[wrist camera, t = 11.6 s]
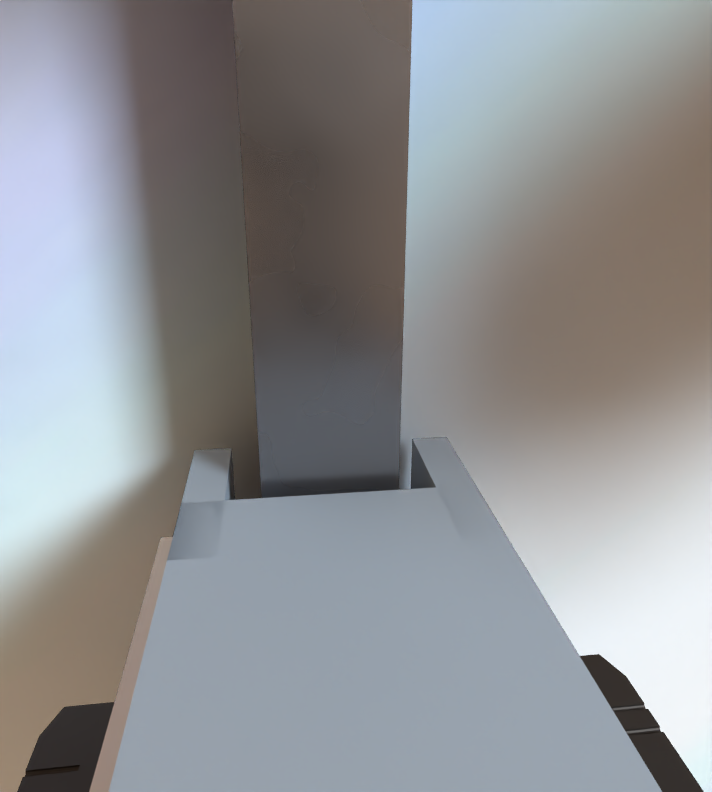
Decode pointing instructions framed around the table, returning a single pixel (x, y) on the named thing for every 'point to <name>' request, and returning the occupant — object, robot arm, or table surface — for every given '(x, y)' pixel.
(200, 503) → the block
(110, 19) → the table surface
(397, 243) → the rail
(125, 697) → the robot arm
